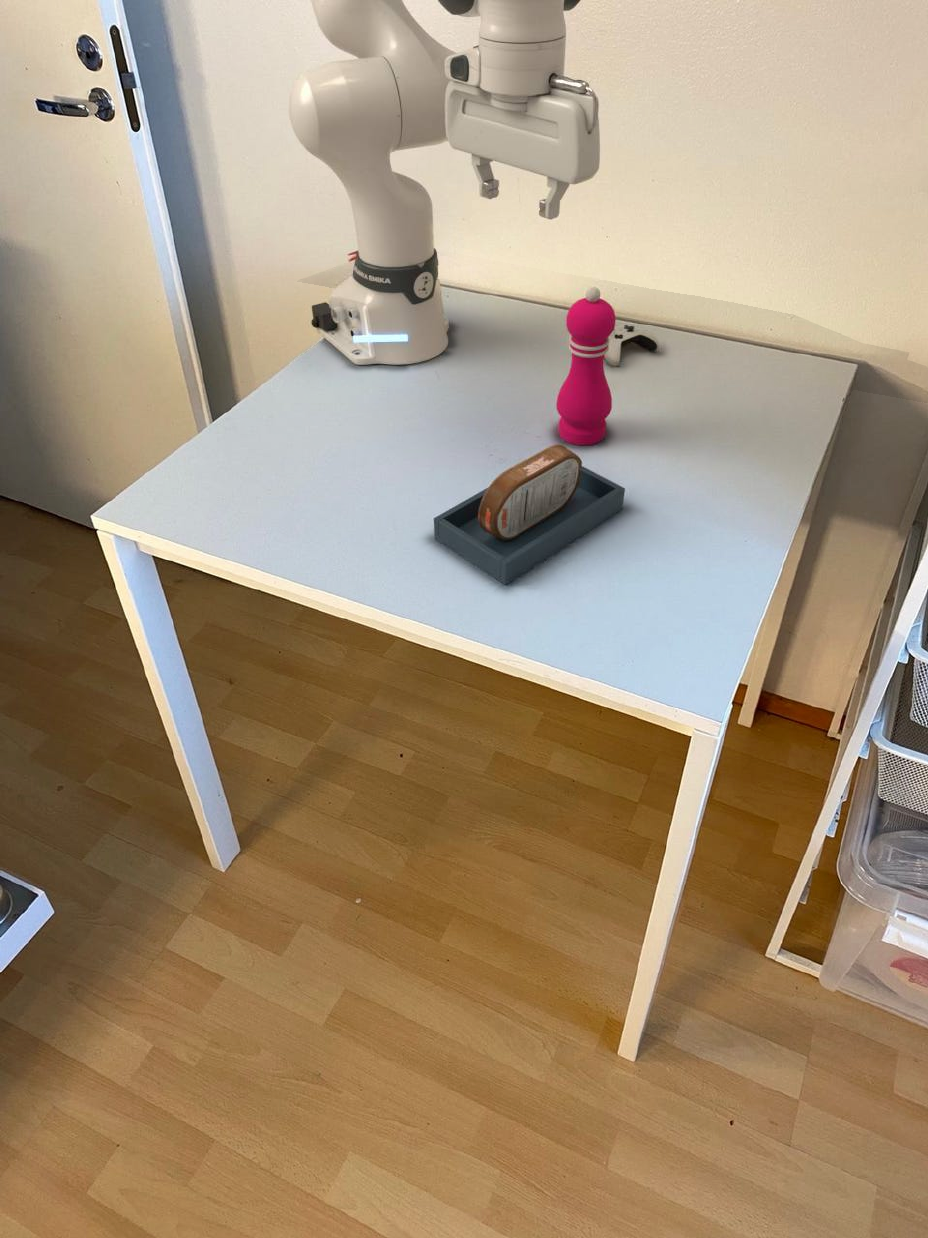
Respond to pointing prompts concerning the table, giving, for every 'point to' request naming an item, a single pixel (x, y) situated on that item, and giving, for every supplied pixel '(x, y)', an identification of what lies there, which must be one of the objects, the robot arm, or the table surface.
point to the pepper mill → (586, 371)
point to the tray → (536, 544)
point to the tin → (530, 492)
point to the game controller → (625, 336)
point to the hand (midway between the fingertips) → (518, 206)
